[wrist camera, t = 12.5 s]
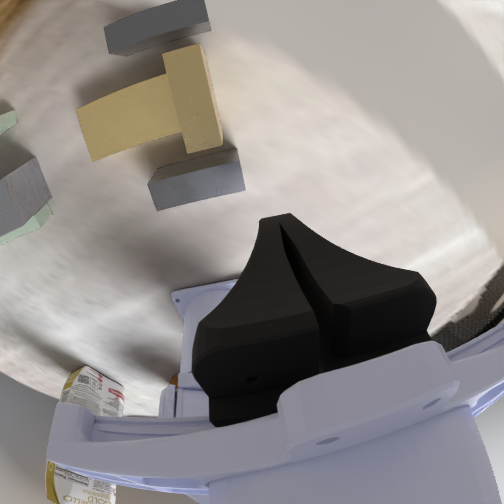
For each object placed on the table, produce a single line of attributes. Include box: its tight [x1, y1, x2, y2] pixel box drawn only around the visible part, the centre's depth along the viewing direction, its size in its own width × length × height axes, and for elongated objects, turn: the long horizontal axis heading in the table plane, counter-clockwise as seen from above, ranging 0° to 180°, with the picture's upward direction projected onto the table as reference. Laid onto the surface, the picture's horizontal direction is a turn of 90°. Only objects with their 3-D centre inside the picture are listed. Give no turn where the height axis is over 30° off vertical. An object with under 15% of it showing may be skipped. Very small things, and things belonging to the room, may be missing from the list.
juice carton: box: [45, 366, 124, 504], centre depth 26 cm, size 9×8×24 cm
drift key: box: [76, 44, 223, 162], centre depth 15 cm, size 6×9×4 cm, turn 100°
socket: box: [104, 0, 246, 211], centre depth 15 cm, size 13×6×3 cm, turn 10°
